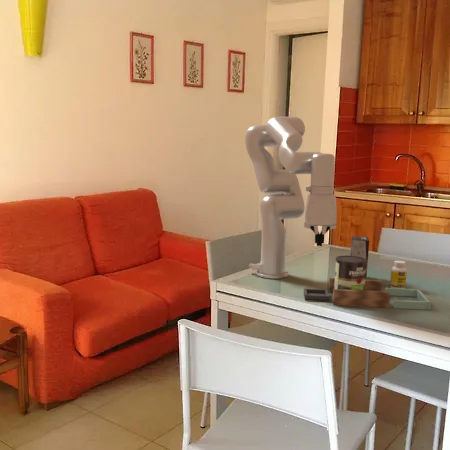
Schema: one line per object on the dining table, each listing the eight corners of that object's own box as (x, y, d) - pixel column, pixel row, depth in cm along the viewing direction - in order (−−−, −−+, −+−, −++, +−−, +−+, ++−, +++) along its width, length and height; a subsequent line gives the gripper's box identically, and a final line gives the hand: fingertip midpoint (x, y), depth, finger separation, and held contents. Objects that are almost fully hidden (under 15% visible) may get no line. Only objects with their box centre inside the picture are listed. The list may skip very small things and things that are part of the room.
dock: (393, 307, 178) (394, 300, 178) (384, 294, 193) (385, 287, 193) (430, 309, 177) (430, 302, 177) (418, 295, 192) (418, 289, 192)
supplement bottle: (397, 290, 198) (399, 264, 196) (386, 286, 203) (388, 260, 201) (408, 288, 201) (410, 262, 199) (397, 284, 205) (399, 259, 204)
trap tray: (304, 300, 184) (305, 295, 184) (303, 293, 192) (303, 288, 192) (329, 301, 183) (329, 296, 183) (326, 294, 191) (327, 289, 191)
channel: (333, 304, 180) (333, 290, 179) (328, 291, 195) (329, 278, 194) (389, 307, 178) (390, 292, 178) (380, 294, 193) (381, 280, 192)
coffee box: (366, 282, 208) (369, 240, 205) (349, 281, 209) (352, 239, 206) (365, 276, 216) (368, 236, 214) (349, 275, 218) (351, 235, 215)
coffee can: (370, 301, 184) (373, 261, 182) (345, 305, 180) (347, 263, 178) (351, 293, 193) (354, 254, 191) (327, 296, 189) (329, 256, 187)
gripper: (299, 191, 178) (297, 246, 181) (346, 192, 177) (343, 248, 180) (298, 189, 186) (296, 242, 189) (343, 190, 184) (340, 244, 187)
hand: (319, 245), depth 184 cm, fingers closed
